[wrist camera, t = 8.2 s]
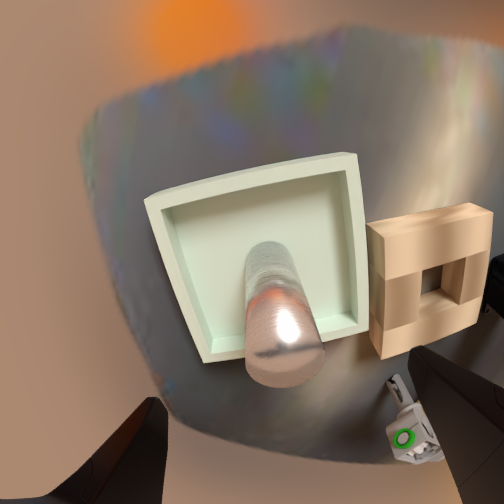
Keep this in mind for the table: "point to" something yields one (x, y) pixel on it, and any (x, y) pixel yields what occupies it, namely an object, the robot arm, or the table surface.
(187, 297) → the parts tray
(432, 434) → the mechanical component
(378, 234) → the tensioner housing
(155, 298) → the table surface
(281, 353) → the pin
